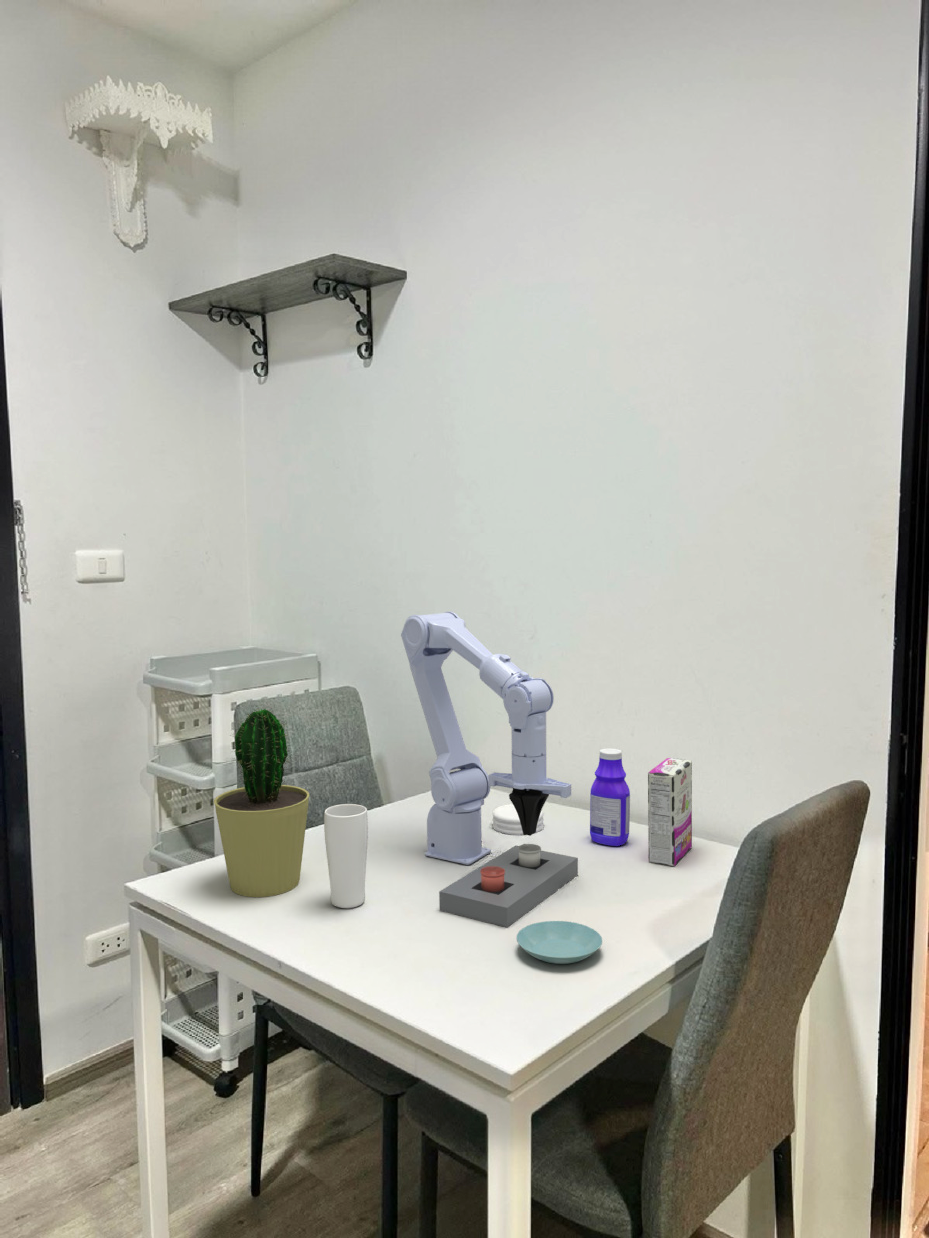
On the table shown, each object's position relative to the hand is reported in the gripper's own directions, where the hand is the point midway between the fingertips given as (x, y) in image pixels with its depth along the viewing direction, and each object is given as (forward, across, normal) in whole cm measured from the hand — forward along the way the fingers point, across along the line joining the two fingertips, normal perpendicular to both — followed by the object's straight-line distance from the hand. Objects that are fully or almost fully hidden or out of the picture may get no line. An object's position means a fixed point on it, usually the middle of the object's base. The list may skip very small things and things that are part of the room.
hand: (529, 833), depth 153 cm
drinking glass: (+8, -20, -23) cm, 32 cm away
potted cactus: (+8, -37, -24) cm, 45 cm away
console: (+8, 0, -6) cm, 10 cm away
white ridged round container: (+8, -15, +23) cm, 29 cm away
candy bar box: (+8, +16, +23) cm, 29 cm away
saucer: (+8, +16, -21) cm, 28 cm away
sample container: (+5, 0, 0) cm, 5 cm away
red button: (+5, 0, -12) cm, 13 cm away
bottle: (+8, +4, +24) cm, 26 cm away
